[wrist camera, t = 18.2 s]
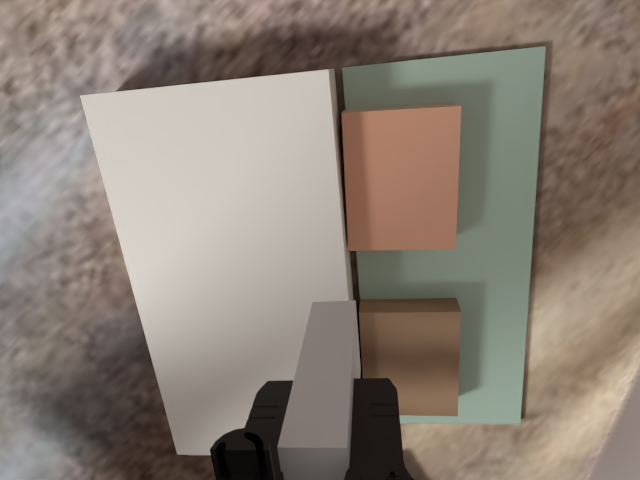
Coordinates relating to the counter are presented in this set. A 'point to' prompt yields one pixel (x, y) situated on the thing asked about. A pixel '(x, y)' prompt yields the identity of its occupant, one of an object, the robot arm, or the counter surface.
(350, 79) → the mat
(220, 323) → the white flat block
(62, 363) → the counter surface
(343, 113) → the terracotta tile
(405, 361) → the walnut tile
